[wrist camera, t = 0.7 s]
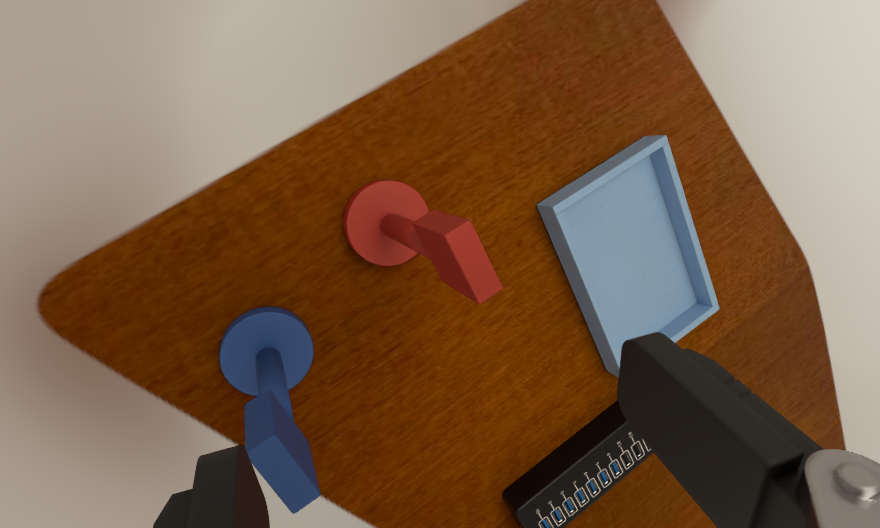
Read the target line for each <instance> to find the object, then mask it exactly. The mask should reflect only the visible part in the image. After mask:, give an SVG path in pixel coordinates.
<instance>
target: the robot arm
mask: <svg viewBox="0 0 880 528" xmlns="http://www.w3.org/2000/svg"><path fill="white" fill-rule="evenodd" d="M617 397H618V402H619V406H620V409H621V411H622V413H623V415H624V417H625V418H626V420H627V421H628V422H629V424H630V425H631V426H632V427H633V428H634V430H635V431H636V432H637V433H638V434H639V435H640V437H641V438H642V439H643V440H644V441H645V443H646V444H647V445H648V446H649V447H650V448H651V450H652V451H653V452H654V453H655V454H656V456H657V457H658V458H659V459H660V460H661V461H662V463H663V464H664V465H665V466H666V467H667V468H668V470H669V471H670V472H671V473H672V474H673V476H674V477H675V478H676V479H677V480H678V481H679V483H680V484H681V485H682V486H683V487H684V489H685V490H686V491H687V492H688V493H689V494H690V496H691V497H692V498H693V499H694V500H695V502H696V503H697V504H698V505H699V506H700V507H701V509H702V510H703V511H704V512H705V513H706V515H707V516H708V517H709V518H710V519H711V520H712V522H713V523H714V524H715V525H716V526H717V527H718V528H880V464H879V463H877V462H875V461H873V460H871V459H869V458H867V457H864V456H862V455H859V454H856V453H853V452H849V451H845V450H837V449H826V450H824V449H823V448H822V447H820V446H819V445H818V444H816V443H815V442H814V441H813V440H811V439H810V438H809V437H808V436H807V435H805V434H804V433H803V432H802V431H800V430H799V429H798V428H797V427H795V426H794V425H793V424H792V423H791V422H789V421H788V420H787V419H786V418H784V417H783V416H782V415H781V414H779V413H778V412H777V411H776V410H774V409H773V408H772V407H771V406H770V405H768V404H767V403H766V402H765V401H763V400H762V399H761V398H760V397H758V396H757V395H756V394H752V393H751V390H750V389H749V388H747V387H746V386H745V385H744V384H742V383H741V382H740V381H739V380H735V379H734V376H733V375H731V374H730V373H729V372H728V371H726V370H725V369H724V368H723V367H721V366H720V365H719V364H718V363H717V362H715V361H714V360H712V359H710V358H708V357H706V356H704V355H701V354H699V353H697V352H695V351H693V350H691V349H688V348H687V349H684V350H683V349H681V348H680V347H679V346H678V345H677V344H675V343H674V342H673V341H672V340H671V339H670V338H668V337H667V336H666V335H665V334H663V333H661V332H654V333H651V334H647V335H643V336H640V337H636V338H632V339H629V340H626V341H625V342H624V343H623V345H622V349H621V359H620V369H619V380H618V390H617ZM269 525H270V524H269V515H268V510H267V505H266V501H265V497H264V495H263V492H262V489H261V487H260V484H259V482H258V479H257V477H256V474H255V471H254V469H253V466H252V464H251V461H250V458H249V456H248V453H247V451H246V449H245V447H244V446H243V445H238V446H235V447H231V448H227V449H224V450H220V451H216V452H213V453H210V454H206V455H202V456H200V457H199V459H198V462H197V466H196V471H195V478H194V484H193V489H190V490H186V491H183V492H180V493H176V494H173V495H172V496H171V497H170V499H169V501H168V502H167V504H166V505H165V507H164V509H163V510H162V512H161V513H160V515H159V517H158V518H157V520H156V522H155V523H154V526H153V528H270V526H269Z"/></svg>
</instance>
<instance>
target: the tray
mask: <svg viewBox="0 0 880 528" xmlns="http://www.w3.org/2000/svg"><path fill="white" fill-rule="evenodd" d="M537 208H538V210H539V212H540V215H541V217H542V219H543V222H544V224H545V226H546V229H547V231H548V233H549V236H550V238H551V240H552V243H553V245H554V248H555V250H556V252H557V255H558V257H559V259H560V262H561V264H562V266H563V269H564V271H565V273H566V276H567V278H568V280H569V283H570V285H571V288H572V290H573V292H574V295H575V297H576V299H577V302H578V304H579V306H580V309H581V311H582V313H583V316H584V318H585V320H586V323H587V325H588V328H589V330H590V332H591V335H592V337H593V339H594V342H595V344H596V346H597V349H598V351H599V353H600V356H601V358H602V360H603V363H604V365H605V368H606V370H607V371H608V372H610V373H612V374H613V375H615V376H617V377H619V369H620V359H621V349H622V345H623V343H624V342H625V341H626V340H629V339H632V338H636V337H640V336H643V335H647V334H651V333H654V332H661V333H663V334H665V335H666V336H667V337H668V338H670V339H671V340H672V341H673V342H674V343H675V342H677V341H678V340H679V339H681V338H682V337H683V336H685V335H686V334H687V333H688V332H690V331H691V330H692V329H694V328H695V327H696V326H698V325H699V324H700V323H702V322H703V321H704V320H706V319H707V318H708V317H710V316H711V315H712V314H714V313H715V312H716V311H717V310H719V305H718V302H717V298H716V295H715V292H714V289H713V285H712V282H711V279H710V276H709V272H708V269H707V266H706V263H705V259H704V256H703V253H702V250H701V246H700V243H699V240H698V237H697V233H696V230H695V227H694V224H693V221H692V217H691V214H690V211H689V208H688V204H687V201H686V198H685V195H684V191H683V188H682V185H681V182H680V178H679V175H678V172H677V169H676V165H675V162H674V159H673V156H672V152H671V149H670V146H669V143H668V139H667V136H666V135H658V136H644V137H643V138H641V139H640V140H638V141H637V142H635V143H633V144H632V145H630V146H629V147H627V148H625V149H624V150H622V151H621V152H619V153H617V154H616V155H614V156H613V157H611V158H610V159H608V160H606V161H605V162H603V163H602V164H600V165H598V166H597V167H595V168H594V169H592V170H591V171H589V172H587V173H586V174H584V175H583V176H581V177H579V178H578V179H576V180H575V181H573V182H571V183H570V184H568V185H567V186H565V187H564V188H562V189H560V190H559V191H557V192H556V193H554V194H552V195H551V196H549V197H548V198H546V199H544V200H543V201H541V202H540V203H538V204H537Z"/></svg>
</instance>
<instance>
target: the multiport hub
mask: <svg viewBox="0 0 880 528" xmlns="http://www.w3.org/2000/svg"><path fill="white" fill-rule="evenodd" d="M653 453H654V452H653V451H652V450H651V448H650V447H649V446H648V445H647V444H646V443H645V441H644V440H643V439H642V438H641V437H640V435H639V434H638V433H637V432H636V431H635V430H634V428H633V427H632V426H631V425H630V424H629V422H628V421H627V420H626V418H625V417H624V415H623V413H622V411H621V409H620V406H619V402H618V401H617V402H615V403H614V404H613V405H612V406H610V407H609V408H608V409H607V410H605V411H604V412H603V413H602V414H600V415H599V416H598V417H596V418H595V419H594V420H593V421H591V422H590V423H589V424H588V425H586V426H585V427H584V428H583V429H581V430H580V431H579V432H578V433H576V434H575V435H574V436H573V437H571V438H570V439H569V440H568V441H566V442H565V443H564V444H562V445H561V446H560V447H559V448H557V449H556V450H555V451H554V452H552V453H551V454H550V455H549V456H547V457H546V458H545V459H544V460H542V461H541V462H540V463H539V464H537V465H536V466H535V467H534V468H532V469H531V470H530V471H528V472H527V473H526V474H525V475H523V476H522V477H521V478H520V479H518V480H517V481H516V482H515V483H513V484H512V485H511V486H510V487H508V488H507V489H506V490H505V491H504V492H503V498H504V500H505V502H506V503H507V505H508V506H509V508H510V510H511V511H512V513H513V514H514V516H515V518H516V519H517V521H518V523H519V524H520V526H521V527H522V528H565V527H566V526H567V525H568V524H569V523H570V522H572V521H573V520H574V519H575V518H576V517H578V516H579V515H580V514H581V513H582V512H584V511H585V510H586V509H587V508H588V507H590V506H591V505H592V504H593V503H594V502H596V501H597V500H598V499H599V498H600V497H601V496H603V495H604V494H605V493H606V492H607V491H609V490H610V489H611V488H612V487H613V486H615V485H616V484H617V483H618V482H619V481H621V480H622V479H623V478H624V477H625V476H627V475H628V474H629V473H630V472H631V471H633V470H634V469H635V468H636V467H637V466H638V465H640V464H641V463H642V462H643V461H644V460H646V459H647V458H648V457H649V456H650V455H652V454H653Z"/></svg>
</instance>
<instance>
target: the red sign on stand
mask: <svg viewBox="0 0 880 528" xmlns="http://www.w3.org/2000/svg"><path fill="white" fill-rule="evenodd" d="M343 228H344V233H345V236H346V239H347V241H348V243H349V244H350V246H351V247H352V249H353V250H354V251H355V252H356V253H357V254H359V255H360V256H361V257H362V258H363V259H365V260H367V261H368V262H370V263H373V264H376V265H380V266H395V265H399V264H402V263H404V262H406V261H408V260H410V259H411V258H413V257H414V256H415V255H416V254H417V253H419V254H421V255H423V256H425V257H426V258H428V259H430V260H431V261H432V262H433V264H434V266H435V268H436V270H437V272H438V274H439V276H440V278H441V280H442V281H443V282H444V283H446V284H447V285H449V286H451V287H452V288H454V289H455V290H457V291H459V292H460V293H462V294H463V295H465V296H467V297H468V298H470V299H471V300H473V301H475V302H476V303H478V304H481V303H482V302H484V301H485V300H487V299H488V298H490V297H491V296H493V295H494V294H496V293H497V292H499V291H500V290H502V289H503V287H502V285H501V283H500V281H499V279H498V277H497V275H496V273H495V271H494V268H493V266H492V264H491V262H490V260H489V258H488V256H487V254H486V252H485V250H484V248H483V246H482V244H481V241H480V239H479V237H478V235H477V233H476V231H475V229H474V227H473V225H472V223H471V221H470V220H468V219H465V218H461V217H458V216H454V215H450V214H447V213H443V212H440V211H436V210H432V211H431V212H429V211H428V208H427V205H426V203H425V201H424V200H423V198H422V197H421V195H420V194H419V193H418V192H417V191H416V190H415V189H413V188H412V187H411V186H409V185H407V184H405V183H402V182H398V181H393V180H377V181H373V182H370V183H368V184H366V185H364V186H362V187H361V188H359V189H358V190H357V191H356V192H355V193H354V194H353V195H352V197H351V198H350V200H349V201H348V203H347V205H346V208H345V211H344V216H343Z"/></svg>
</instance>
